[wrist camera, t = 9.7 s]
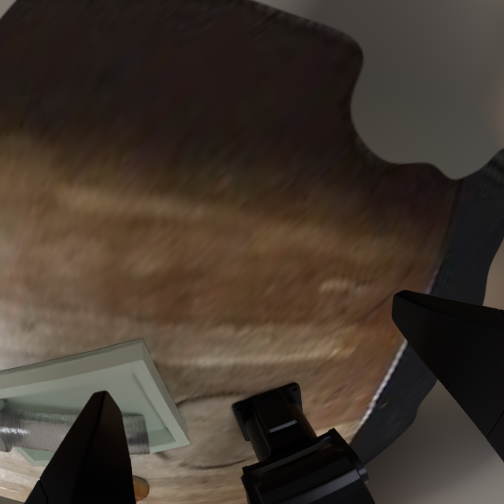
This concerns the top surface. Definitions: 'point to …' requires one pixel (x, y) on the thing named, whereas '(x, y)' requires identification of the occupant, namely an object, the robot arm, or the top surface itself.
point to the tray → (93, 380)
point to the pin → (57, 430)
